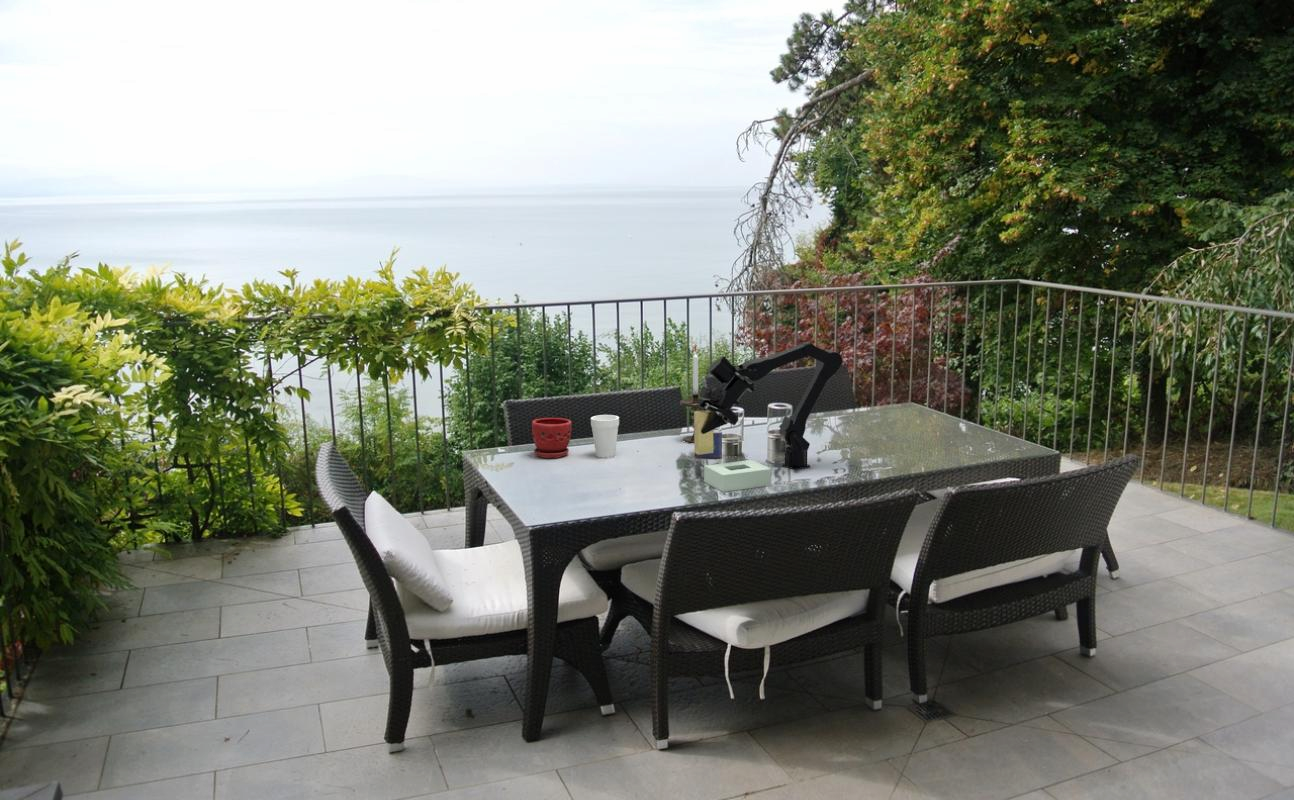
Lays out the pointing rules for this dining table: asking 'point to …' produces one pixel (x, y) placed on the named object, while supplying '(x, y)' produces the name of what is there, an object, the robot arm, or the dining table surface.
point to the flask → (714, 447)
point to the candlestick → (692, 401)
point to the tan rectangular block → (701, 441)
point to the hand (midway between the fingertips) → (699, 432)
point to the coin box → (737, 475)
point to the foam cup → (605, 434)
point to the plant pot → (551, 437)
